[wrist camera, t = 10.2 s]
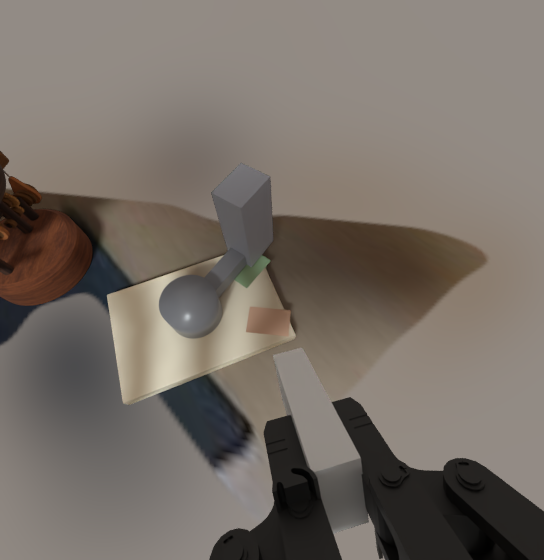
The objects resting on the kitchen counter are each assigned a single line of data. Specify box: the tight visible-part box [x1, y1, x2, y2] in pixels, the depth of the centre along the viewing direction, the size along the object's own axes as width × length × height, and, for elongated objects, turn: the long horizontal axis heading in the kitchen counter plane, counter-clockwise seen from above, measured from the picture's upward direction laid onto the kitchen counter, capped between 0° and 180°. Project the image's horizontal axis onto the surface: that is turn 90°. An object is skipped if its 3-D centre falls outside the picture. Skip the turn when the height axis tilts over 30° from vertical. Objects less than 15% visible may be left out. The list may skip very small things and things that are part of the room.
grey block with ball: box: [159, 163, 273, 339], centre depth 27 cm, size 14×5×9 cm, turn 146°
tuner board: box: [107, 255, 296, 405], centre depth 31 cm, size 17×12×1 cm
